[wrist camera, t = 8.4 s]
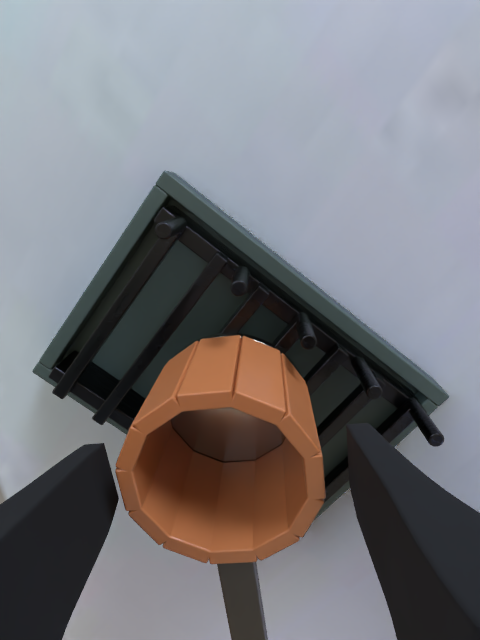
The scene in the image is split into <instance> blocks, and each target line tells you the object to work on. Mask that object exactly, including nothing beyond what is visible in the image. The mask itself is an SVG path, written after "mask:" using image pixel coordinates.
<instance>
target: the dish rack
mask: <svg viewBox="0 0 480 640" xmlns="http://www.w3.org/2000/svg"><path fill="white" fill-rule="evenodd" d="M218 333H242V334H247V335H252V336H255V337H258V338H261V339H263V340H265V341H267V342H269V343H271V344H273V345H274V346H276V347H278V348H279V349H280V350H282V351H283V352H284V353H285V354H286V355H287V356H288V357H289V358H290V359H291V360H292V361H293V362H294V364H295V365H296V367H297V368H298V370H299V371H300V373H301V375H302V377H303V379H304V380H305V382H306V385H307V387H308V392H309V396H310V401H311V405H312V410H313V414H314V419H315V424H316V428H317V433H318V437H319V442H320V446H321V451H322V456H323V467H324V480H325V493H326V498H325V499H324V504H323V506H322V507H321V509H320V510H319V512H318V514H317V515H316V517H315V519H316V518H317V517H318V516H319V515H320V514H321V513H322V512H323V511H324V510H326V509H327V508H328V507H329V506H330V505H331V504H332V503H333V502H334V501H335V500H337V499H338V498H339V497H340V496H341V495H342V494H343V493H344V492H345V491H346V490H348V489H349V488H350V484H349V467H348V449H347V432H346V425H347V424H360V423H369V424H370V425H371V426H372V427H373V428H374V429H375V430H376V431H377V432H378V433H379V434H380V435H381V436H383V437H384V438H385V439H386V440H387V441H388V442H389V443H390V444H391V445H392V446H393V447H395V446H396V445H397V444H398V443H399V442H400V441H401V440H402V439H404V438H405V437H406V436H407V435H408V434H409V433H410V432H411V431H412V430H413V429H415V428H416V427H417V426H418V427H419V429H420V430H421V432H422V433H423V435H424V436H425V438H426V439H427V441H428V442H429V444H430V445H432V446H440V445H441V444H442V443H443V442H444V437H443V435H442V434H441V432H440V431H439V430H438V428H437V427H436V425H435V424H434V423H433V421H432V420H431V418H430V417H429V415H430V414H431V413H432V412H433V411H434V410H435V409H436V408H437V407H438V406H440V405H441V404H442V403H443V402H444V401H446V400H447V399H448V398H449V395H448V394H447V393H446V392H445V391H444V390H443V389H442V387H441V386H439V384H438V383H437V382H436V381H435V380H434V379H433V378H432V377H430V376H429V375H428V374H427V373H425V372H424V371H423V370H422V369H420V368H419V367H418V366H417V365H415V364H414V363H413V362H412V361H410V360H409V359H408V358H407V357H405V356H404V355H403V354H402V353H400V352H399V351H398V350H397V349H395V348H394V347H393V346H391V345H390V344H389V343H388V342H386V341H385V340H384V339H383V338H381V337H380V336H379V335H378V334H376V333H375V332H374V331H373V330H371V329H370V328H369V327H368V326H366V325H365V324H364V323H363V322H361V321H360V320H359V319H358V318H356V317H355V316H354V315H353V314H351V313H350V312H349V311H347V310H346V309H345V308H344V307H342V306H341V305H340V304H339V303H337V302H336V301H335V300H334V299H332V298H331V297H330V296H329V295H327V294H326V293H325V292H324V291H322V290H321V289H320V288H319V287H317V286H316V285H315V284H314V283H312V282H311V281H310V280H309V279H307V278H306V277H305V276H304V275H302V274H301V273H300V272H298V271H297V270H296V269H295V268H293V267H292V266H291V265H290V264H288V263H287V262H286V261H285V260H283V259H282V258H281V257H280V256H278V255H277V254H276V253H275V252H273V251H272V250H271V249H270V248H268V247H267V246H266V245H265V244H263V243H262V242H261V241H260V240H258V239H257V238H256V237H254V236H253V235H252V234H251V233H249V232H248V231H247V230H246V229H244V228H243V227H242V226H241V225H239V224H238V223H237V222H236V221H234V220H233V219H232V218H231V217H229V216H228V215H227V214H226V213H224V212H223V211H222V210H221V209H219V208H218V207H217V206H216V205H214V204H213V203H212V202H211V201H209V200H208V199H207V198H205V197H204V196H203V195H202V194H200V193H199V192H198V191H197V190H195V189H194V188H193V187H192V186H190V185H189V184H188V183H187V182H185V181H184V180H183V179H182V178H180V177H179V176H178V175H177V174H175V173H173V172H169V171H164V172H163V173H162V175H161V176H160V178H159V179H158V181H157V182H156V185H155V186H154V187H153V188H152V190H151V191H150V193H149V195H148V196H147V198H146V199H145V201H144V202H143V204H142V205H141V207H140V208H139V210H138V211H137V213H136V214H135V216H134V217H133V219H132V220H131V222H130V223H129V225H128V226H127V228H126V229H125V231H124V233H123V234H122V236H121V237H120V239H119V240H118V242H117V243H116V245H115V246H114V248H113V249H112V251H111V252H110V254H109V255H108V257H107V258H106V260H105V261H104V263H103V264H102V266H101V267H100V269H99V271H98V272H97V274H96V275H95V277H94V278H93V280H92V281H91V283H90V284H89V286H88V287H87V289H86V290H85V292H84V293H83V295H82V296H81V298H80V299H79V301H78V302H77V304H76V306H75V307H74V309H73V310H72V312H71V313H70V315H69V316H68V318H67V319H66V321H65V322H64V324H63V325H62V327H61V328H60V330H59V331H58V333H57V334H56V336H55V337H54V339H53V340H52V342H51V344H50V345H49V347H48V348H47V350H46V351H45V353H44V354H43V356H42V357H41V359H40V361H39V362H38V363H37V365H36V366H35V368H34V369H33V373H35V374H36V375H38V376H39V377H41V378H42V379H44V380H45V381H47V382H48V383H50V384H51V385H53V386H54V387H55V388H54V390H53V392H52V393H53V394H55V395H56V396H58V397H59V398H61V399H64V398H65V397H66V396H67V395H68V396H69V397H71V398H72V399H74V400H75V401H77V402H78V403H80V404H82V405H83V406H85V407H86V408H88V409H89V410H91V411H92V412H94V413H95V414H94V416H93V417H92V419H93V420H94V421H96V422H97V423H99V424H100V425H103V424H104V423H105V421H107V422H109V423H110V424H112V425H113V426H115V427H116V428H118V429H119V430H121V431H122V432H124V433H125V434H128V431H129V428H130V426H131V424H132V423H133V421H134V419H135V417H136V416H137V414H138V412H139V410H140V408H141V407H142V405H143V403H144V401H145V400H146V398H147V396H148V394H149V393H150V391H151V389H152V387H153V385H154V384H155V382H156V380H157V378H158V377H159V375H160V373H161V371H162V369H163V368H164V366H165V365H166V364H167V362H168V361H169V360H170V359H172V358H173V357H174V355H175V354H176V353H177V352H178V351H180V350H181V349H182V348H183V347H185V346H186V345H188V344H189V343H191V342H193V341H195V340H197V339H199V338H202V337H205V336H208V335H212V334H218ZM315 519H314V520H315Z"/></svg>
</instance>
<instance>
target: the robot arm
mask: <svg viewBox="0 0 480 640" xmlns="http://www.w3.org/2000/svg"><path fill="white" fill-rule="evenodd" d="M346 432H347V449H348V467H349V484H350V489H351V493H352V498H353V502H354V506H355V511H356V515H357V519H358V522H359V525H360V528H361V530H362V533H363V536H364V539H365V542H366V545H367V548H368V550H369V553H370V556H371V559H372V562H373V564H374V567H375V570H376V573H377V576H378V579H379V581H380V584H381V587H382V590H383V593H384V596H385V598H386V601H387V605H388V608H389V611H390V614H391V617H392V621H393V625H394V629H395V632H396V636H397V640H480V513H479V512H477V511H476V510H474V509H473V508H471V507H469V506H468V505H466V504H465V503H463V502H462V501H460V500H459V499H457V498H456V497H454V496H453V495H451V494H450V493H449V492H447V491H446V490H444V489H443V488H442V487H440V486H439V485H438V484H436V483H435V482H434V481H433V480H431V479H430V478H429V477H427V476H426V475H425V474H424V473H423V472H421V471H420V470H419V469H418V468H417V467H415V466H414V465H413V464H412V463H411V462H410V461H409V460H407V459H406V458H405V457H404V456H403V455H402V454H401V453H399V452H398V451H397V450H396V449H395V448H394V447H393V446H392V445H391V444H390V443H389V442H388V441H387V440H386V439H385V438H384V437H383V436H381V435H380V434H379V433H378V432H377V431H376V430H375V429H374V428H373V427H372V426H371V425H370V424H369V423H360V424H347V425H346ZM118 500H119V498H118V494H117V490H116V486H115V483H114V479H113V475H112V472H111V468H110V464H109V460H108V457H107V453H106V449H105V446H104V443H100V444H87V445H83V446H82V447H80V448H79V449H77V450H76V451H74V452H73V453H71V454H70V455H68V456H67V457H66V458H64V459H63V460H61V461H60V462H59V463H57V464H56V465H55V466H53V467H52V468H51V469H49V470H48V471H46V472H45V473H44V474H42V475H41V476H40V477H38V478H37V479H36V480H34V481H33V482H32V483H30V484H29V485H27V486H26V487H25V488H23V489H22V490H20V491H19V492H18V493H16V494H15V495H13V496H12V497H10V498H9V499H7V500H6V501H5V502H3V503H2V504H0V640H62V638H63V635H64V632H65V629H66V627H67V624H68V622H69V620H70V617H71V615H72V612H73V610H74V608H75V606H76V603H77V601H78V599H79V597H80V595H81V592H82V590H83V588H84V586H85V584H86V581H87V579H88V577H89V575H90V573H91V571H92V568H93V566H94V564H95V562H96V560H97V557H98V555H99V553H100V551H101V548H102V546H103V544H104V542H105V539H106V537H107V535H108V532H109V529H110V526H111V523H112V520H113V517H114V514H115V510H116V507H117V503H118Z"/></svg>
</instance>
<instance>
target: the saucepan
mask: <svg viewBox="0 0 480 640" xmlns="http://www.w3.org/2000/svg"><path fill="white" fill-rule="evenodd" d="M116 467H117V468H116V471H115V472H116V476H117V480H118V483H119V487H120V491H121V495H122V498H123V502H124V506H125V509H126V511H129V513H128V514H129V516H130V517H131V518H132V519H133V520H134V521H135V522H136V523H137V524H138V525H139V526H140V527H141V528H142V529H143V530H144V531H145V532H146V533H147V534H148V535H149V536H150V537H151V538H152V539H153V540H154V541H155V542H156V543H157V544H158V545H161V544H163V548H165V549H168V550H171V551H173V552H176V553H179V554H181V555H184V556H187V557H190V558H192V559H195V560H198V561H201V562H203V563H207V562H208V560H209V561H210V564H217V566H218V571H219V576H220V582H221V587H222V592H223V597H224V603H225V608H226V613H227V618H228V623H229V629H230V634H231V639H232V640H268V637H267V631H266V624H265V618H264V611H263V604H262V598H261V591H260V585H259V578H258V572H257V565H256V562H257V558H258V559H259V560H263V559H265V558H267V557H269V556H271V555H273V554H275V553H277V552H279V551H281V550H282V549H284V548H286V547H288V546H290V545H292V544H294V543H296V542H298V541H299V540H300V538H299V537H303V536H304V535H305V533H306V532H307V530H308V528H309V527H310V525H311V523H312V522H313V520H314V519H315V517H316V515H317V514H318V512H319V510H320V509H321V507H322V506H323V504H324V499H325V498H326V493H325V480H324V467H323V456H322V451H321V446H320V442H319V437H318V433H317V428H316V424H315V419H314V414H313V410H312V405H311V401H310V396H309V392H308V387H307V385H306V382H305V380H304V379H303V377H302V375H301V373H300V371H299V370H298V368H297V367H296V365H295V364H294V362H293V361H292V360H291V359H290V358H289V357H288V356H287V355H286V354H285V353H284V352H283V351H282V350H280V349H279V348H278V347H276V346H274V345H273V344H271V343H269V342H267V341H265V340H263V339H261V338H258V337H255V336H252V335H247V334H242V333H218V334H212V335H208V336H205V337H202V338H199V339H197V340H195V341H193V342H191V343H189V344H188V345H186V346H185V347H183V348H182V349H181V350H180V351H178V352H177V353H176V354H175V355H174V357H173V358H172V359H170V360H169V361H168V362H167V364H166V365H165V366H164V368H163V369H162V371H161V373H160V375H159V377H158V378H157V380H156V382H155V384H154V385H153V387H152V389H151V391H150V393H149V394H148V396H147V398H146V400H145V401H144V403H143V405H142V407H141V408H140V410H139V412H138V414H137V416H136V417H135V419H134V421H133V423H132V424H131V426H130V428H129V431H128V434H127V436H126V439H125V441H124V444H123V447H122V449H121V452H120V455H119V457H118V460H117V463H116Z"/></svg>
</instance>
